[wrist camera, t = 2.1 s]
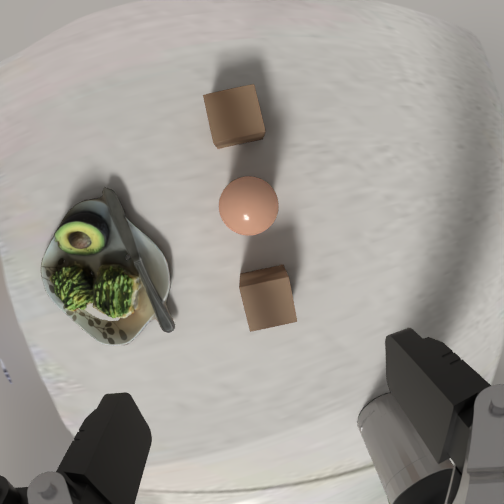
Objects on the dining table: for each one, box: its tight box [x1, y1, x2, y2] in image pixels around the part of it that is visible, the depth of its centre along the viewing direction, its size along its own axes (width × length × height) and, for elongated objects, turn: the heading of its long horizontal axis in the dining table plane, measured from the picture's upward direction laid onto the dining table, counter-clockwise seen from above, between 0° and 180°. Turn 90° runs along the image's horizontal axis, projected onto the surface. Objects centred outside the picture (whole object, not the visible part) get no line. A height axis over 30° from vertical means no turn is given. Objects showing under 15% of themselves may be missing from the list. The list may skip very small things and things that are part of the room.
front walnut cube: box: [203, 84, 266, 149], centre depth 29 cm, size 5×5×5 cm
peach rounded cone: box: [219, 176, 278, 235], centre depth 30 cm, size 5×5×8 cm
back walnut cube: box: [239, 265, 297, 332], centre depth 33 cm, size 5×5×5 cm
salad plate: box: [41, 187, 175, 346], centre depth 33 cm, size 19×18×5 cm
